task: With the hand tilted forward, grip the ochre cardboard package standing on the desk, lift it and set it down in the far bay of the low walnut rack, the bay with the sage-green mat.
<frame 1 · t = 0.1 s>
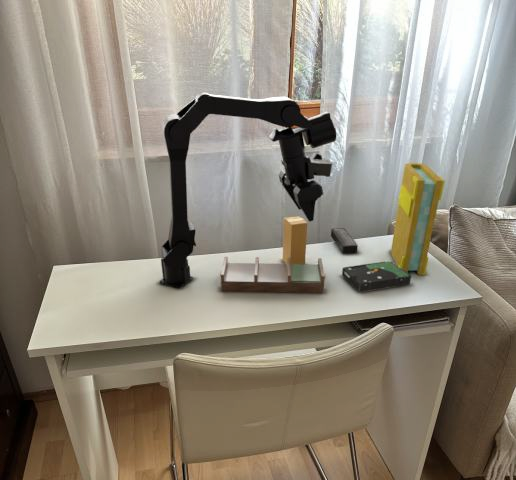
hand: (305, 214, 128), 15 cm above the table, tool pointing down, fingers open, 9 cm apart
rack: (272, 282, 130), on the table
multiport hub: (343, 244, 152), on the table
disk drive: (375, 281, 131), on the table
book: (405, 262, 141), on the table
package: (293, 263, 140), on the table
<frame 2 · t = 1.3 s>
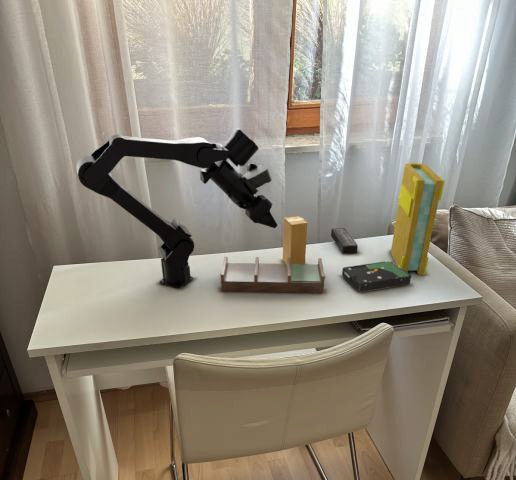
hand: (269, 220, 130), 13 cm above the table, tool tilted 45°, fingers open, 9 cm apart
nothing on the table moved.
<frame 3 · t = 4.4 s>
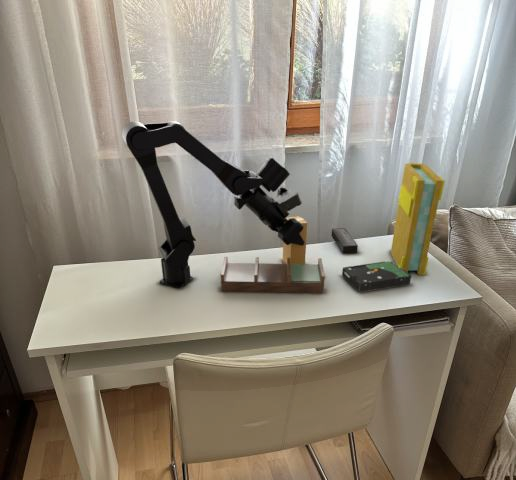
hand: (299, 240, 137), 7 cm above the table, tool tilted 45°, fingers closed on package, 5 cm apart
package: (293, 263, 140), on the table, touching gripper
everything else where it was.
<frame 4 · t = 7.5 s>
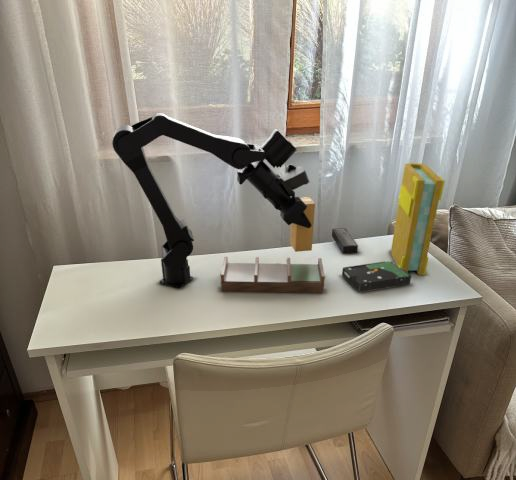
hand: (307, 222, 129), 13 cm above the table, tool tilted 45°, fingers closed on package, 5 cm apart
package: (300, 247, 132), point 7 cm above the table, touching gripper
everything else where it was.
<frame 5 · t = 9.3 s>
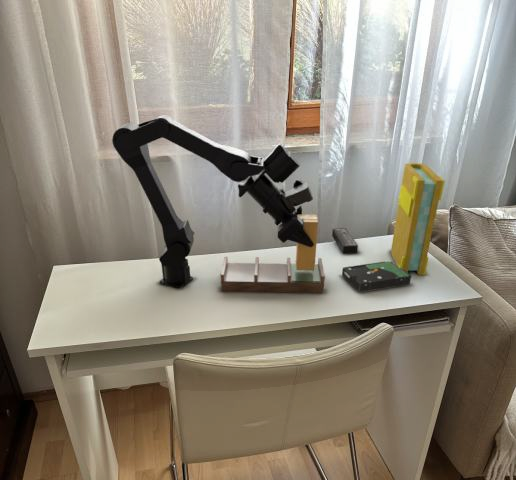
hand: (312, 241, 123), 12 cm above the table, tool tilted 45°, fingers closed on package, 5 cm apart
package: (304, 265, 127), point 5 cm above the table, touching gripper
everything else where it was.
when the fingers open (10 cm above the table, at t = 10.4 s): package stays where it is, resting on rack.
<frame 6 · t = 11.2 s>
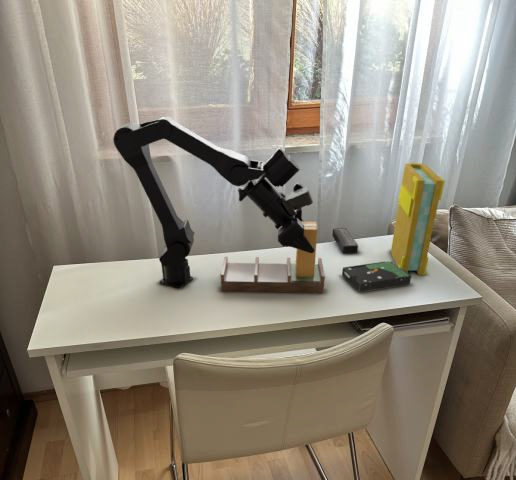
hand: (312, 244, 124), 11 cm above the table, tool tilted 45°, fingers open, 9 cm apart
package: (304, 272, 128), point 3 cm above the table, touching rack
everything else where it was.
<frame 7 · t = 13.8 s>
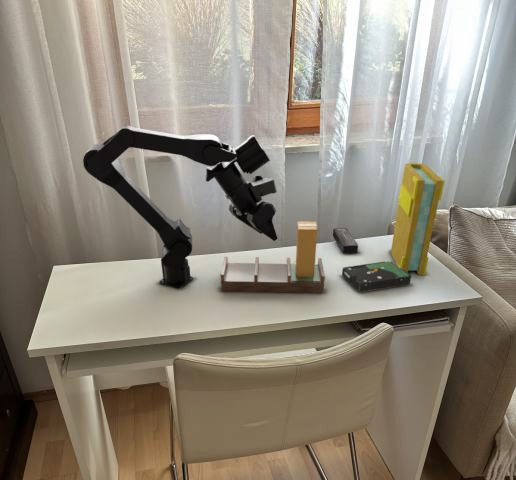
hand: (268, 236, 126), 11 cm above the table, tool tilted 35°, fingers open, 9 cm apart
nothing on the table moved.
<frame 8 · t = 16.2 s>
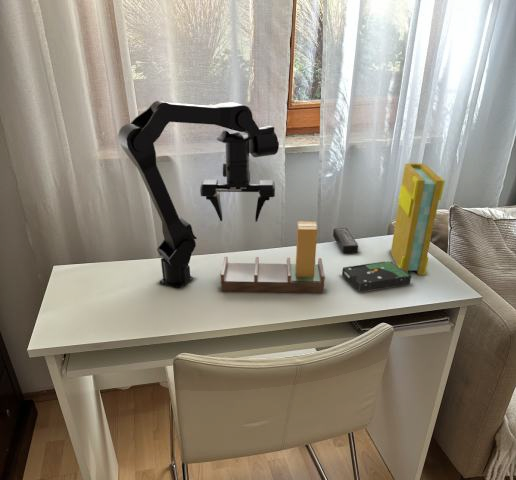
hand: (238, 220, 131), 13 cm above the table, tool pointing down, fingers open, 9 cm apart
nothing on the table moved.
at the end: package 0.1 cm from the target spot on the rack, point 3.2 cm above the rack's base; package tilted 0°; the gripper is holding nothing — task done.
